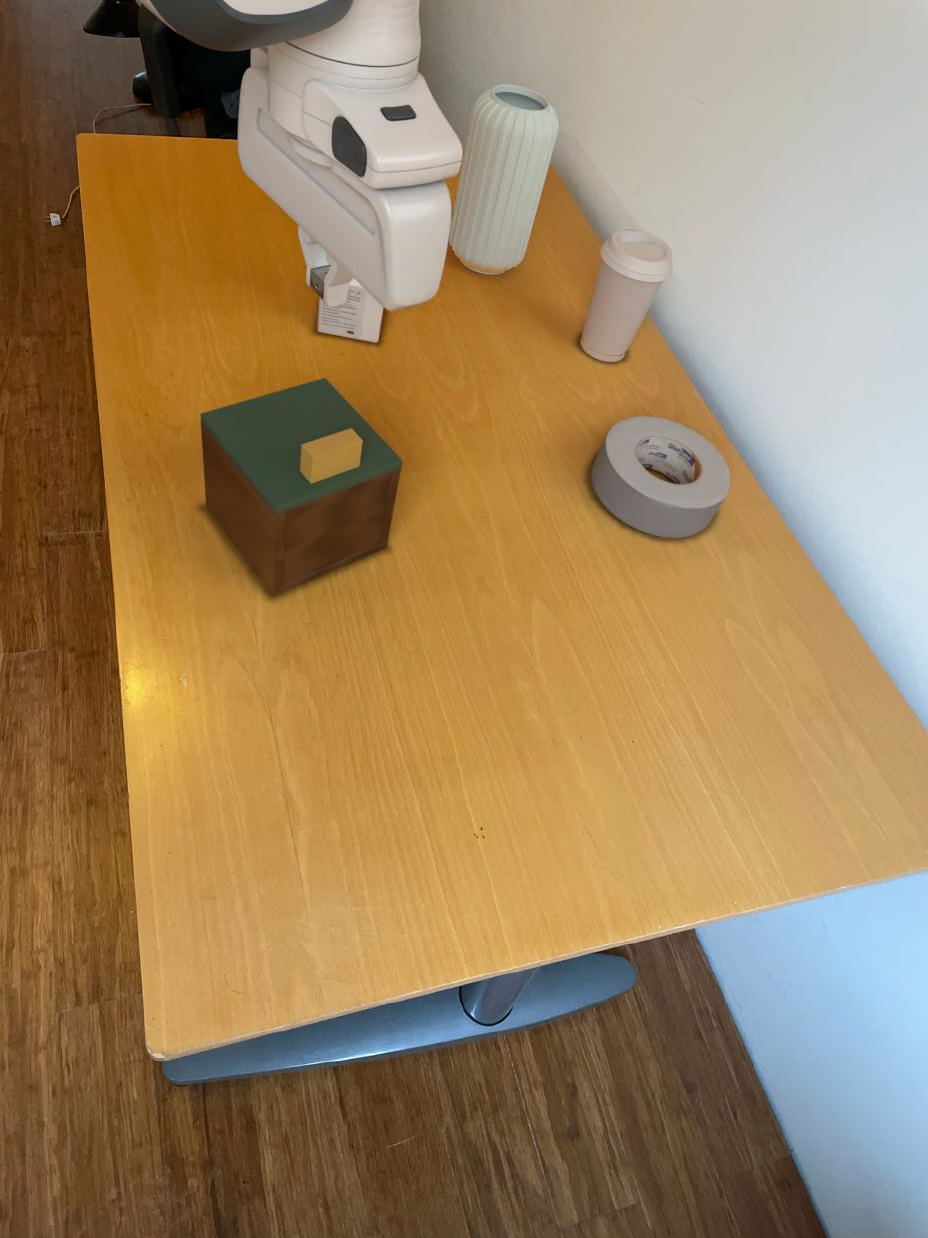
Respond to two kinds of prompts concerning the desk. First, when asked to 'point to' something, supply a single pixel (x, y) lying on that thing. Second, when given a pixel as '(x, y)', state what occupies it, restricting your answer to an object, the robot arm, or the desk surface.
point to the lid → (300, 443)
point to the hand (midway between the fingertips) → (326, 295)
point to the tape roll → (648, 496)
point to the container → (352, 315)
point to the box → (296, 522)
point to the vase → (502, 176)
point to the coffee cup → (624, 291)
